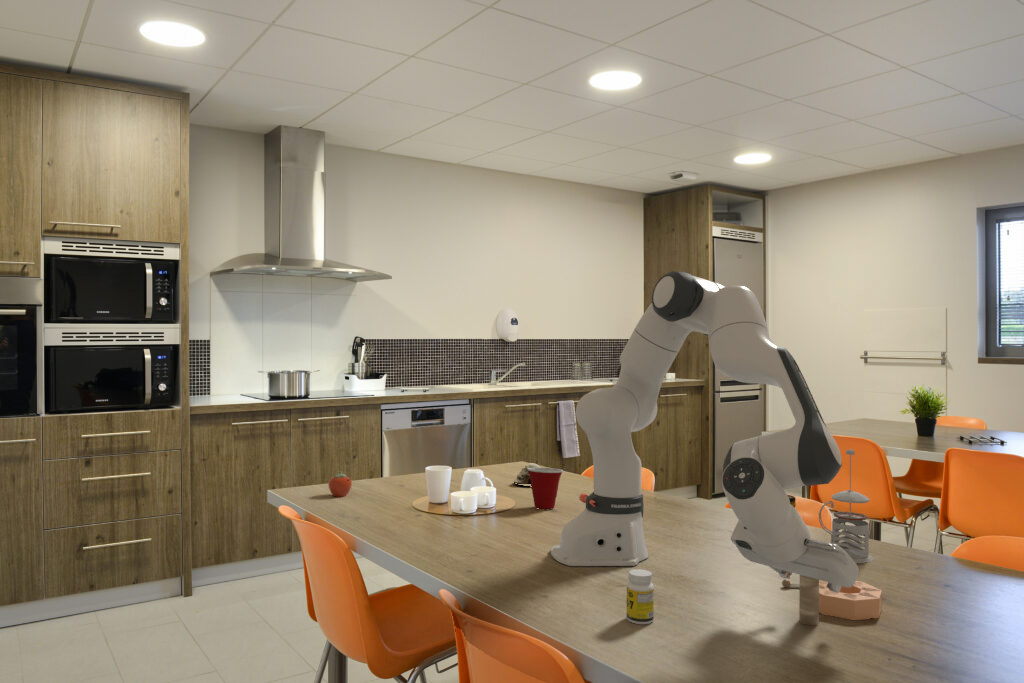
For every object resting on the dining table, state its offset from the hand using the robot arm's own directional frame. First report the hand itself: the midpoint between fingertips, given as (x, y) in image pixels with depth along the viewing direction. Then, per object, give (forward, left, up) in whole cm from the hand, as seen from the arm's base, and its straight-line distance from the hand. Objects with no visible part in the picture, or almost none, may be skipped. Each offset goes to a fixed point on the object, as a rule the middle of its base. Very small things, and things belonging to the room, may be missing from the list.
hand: (811, 581), depth 128 cm
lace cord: (+14, +15, -7) cm, 22 cm away
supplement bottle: (-30, +7, -7) cm, 31 cm away
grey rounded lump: (-17, +134, -7) cm, 135 cm away
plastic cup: (-22, +97, -7) cm, 99 cm away
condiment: (+24, +46, -7) cm, 52 cm away
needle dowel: (-1, 0, -7) cm, 7 cm away
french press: (+33, +34, -7) cm, 48 cm away
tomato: (-82, +127, -7) cm, 151 cm away
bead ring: (+10, +5, -7) cm, 13 cm away
